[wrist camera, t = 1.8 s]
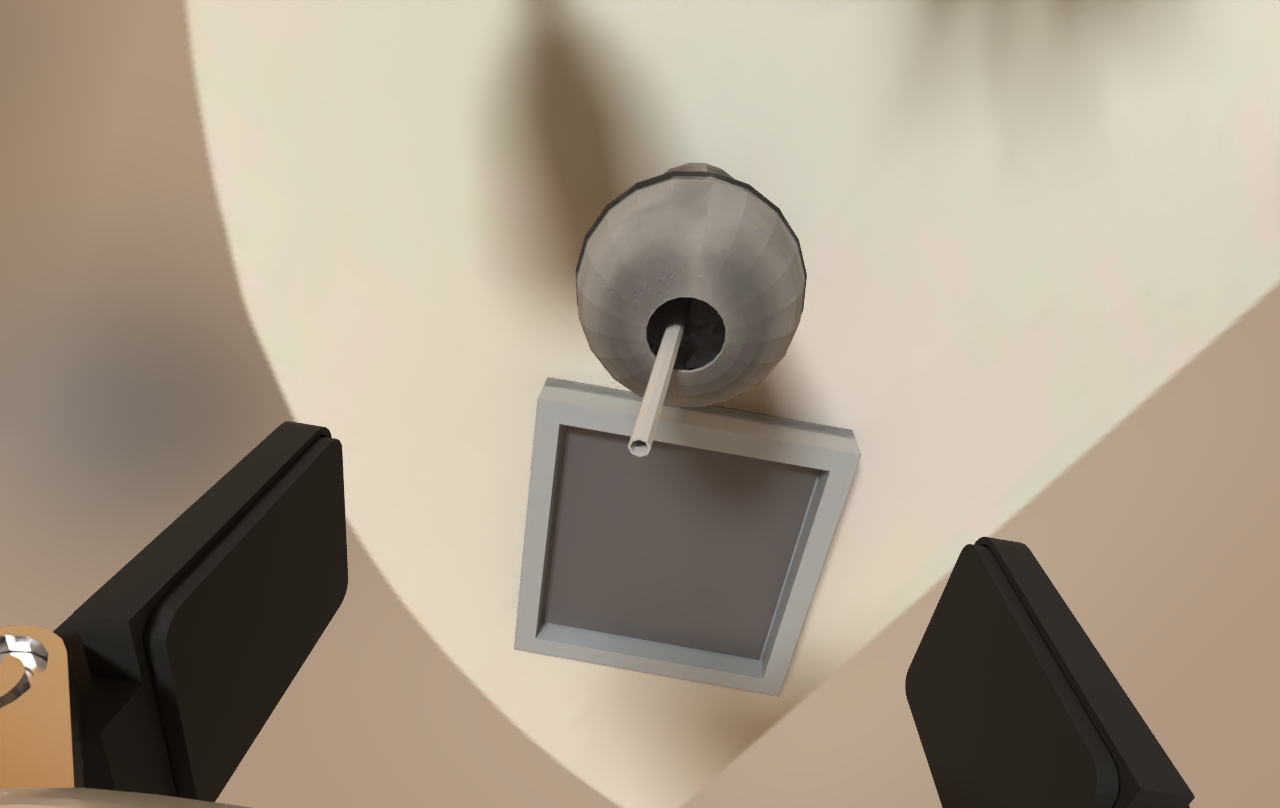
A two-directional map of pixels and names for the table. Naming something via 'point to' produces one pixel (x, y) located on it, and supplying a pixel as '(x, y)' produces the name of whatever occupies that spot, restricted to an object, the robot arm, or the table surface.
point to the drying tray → (676, 536)
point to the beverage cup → (689, 291)
